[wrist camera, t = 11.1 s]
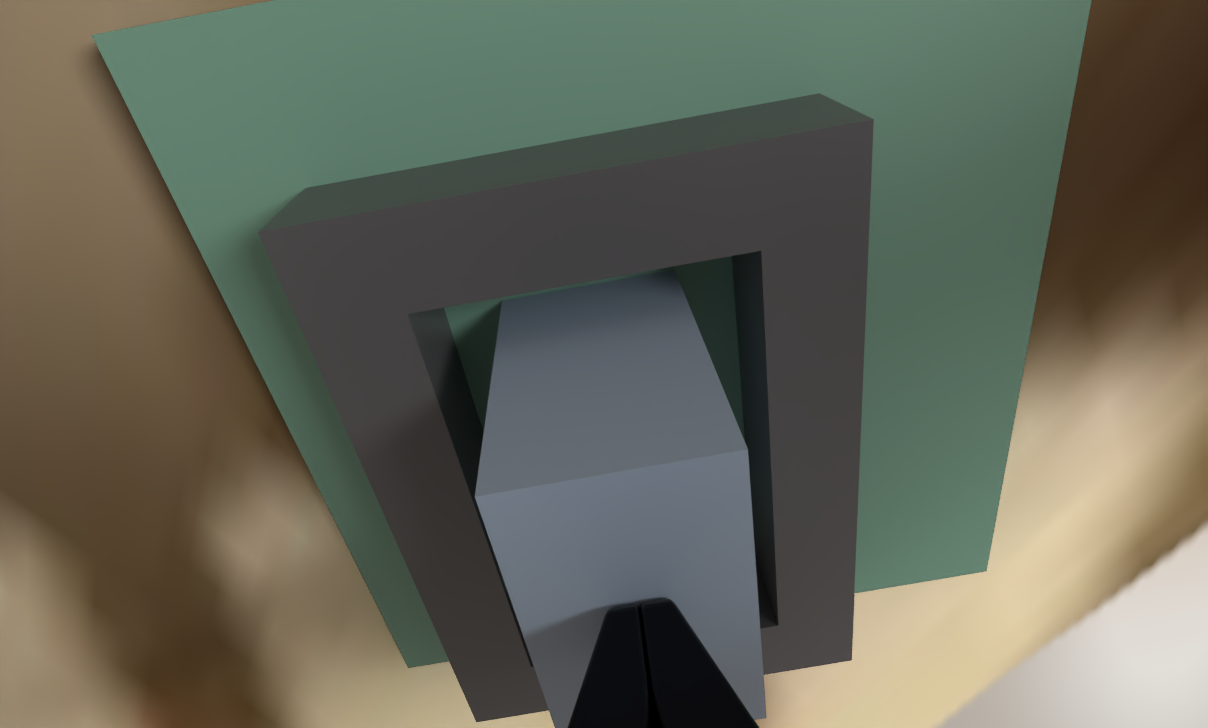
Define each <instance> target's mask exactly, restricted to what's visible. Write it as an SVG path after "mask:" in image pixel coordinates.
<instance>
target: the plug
mask: <svg viewBox="0 0 1208 728" xmlns="http://www.w3.org/2000/svg"><path fill="white" fill-rule="evenodd" d="M475 499H476V502H477V505H478V508H479V510H480V513H481V516H482V519H483V522H484V525H485V528H486V531H487V533H488V536H489V539H490V542H491V545H492V548H493V551H494V554H495V556H496V559H497V562H498V565H499V568H500V571H501V574H502V577H503V579H504V582H505V585H506V588H507V591H508V594H509V597H510V600H511V602H512V605H513V608H514V611H515V614H516V617H517V620H518V623H519V625H520V628H521V631H522V634H523V637H524V640H525V643H526V645H527V648H528V651H529V654H530V657H531V660H532V663H533V666H534V668H535V671H536V674H537V677H538V680H539V683H540V686H541V689H542V691H543V694H544V697H545V700H546V703H547V706H548V709H549V712H550V714H551V717H552V720H553V723H554V726H555V728H567V727H568V724H569V721H570V718H571V715H572V712H573V709H574V706H575V703H576V700H577V697H578V694H579V691H580V688H581V685H582V682H583V679H584V676H585V673H586V670H587V667H588V664H589V661H590V658H591V655H592V652H593V649H594V646H595V643H596V640H597V637H598V634H599V631H600V628H601V625H602V622H603V619H604V616H605V614H606V612H607V611H608V610H609V609H610V608H614V607H620V606H626V605H632V604H634V605H637V606H638V607H639V608H640V611H641V605H642V604H643V603H645V602H649V601H655V600H661V599H671V600H672V601H673V602H674V603H675V604H676V605H677V607H678V608H679V610H680V611H681V613H682V614H683V616H684V617H685V619H686V620H687V622H688V623H689V625H690V626H691V627H692V629H693V630H694V632H695V633H696V635H697V636H698V638H699V639H700V641H701V642H702V644H703V645H704V647H705V648H706V650H707V651H708V653H709V654H710V656H711V657H712V658H713V660H714V661H715V663H716V664H717V666H718V667H719V669H720V670H721V672H722V673H723V675H724V676H725V678H726V679H727V681H728V682H729V684H730V685H731V687H732V688H733V689H734V691H735V692H736V694H737V695H738V697H739V698H740V700H741V701H742V703H743V704H744V706H745V707H746V709H747V710H748V712H749V713H750V715H751V716H752V718H753V719H754V720H757V719H763V718H766V705H765V690H764V676H763V661H762V647H761V632H760V617H759V603H758V588H757V574H756V559H755V545H754V530H753V516H752V501H751V486H750V472H749V457H748V448H747V446H746V443H745V441H744V438H743V436H742V434H741V431H740V429H739V426H738V424H737V421H736V419H735V417H734V414H733V412H732V409H731V407H730V404H729V402H728V399H727V397H726V395H725V392H724V390H723V387H722V385H721V382H720V380H719V377H718V375H717V373H716V370H715V368H714V365H713V363H712V360H711V358H710V355H709V353H708V351H707V348H706V346H705V343H704V341H703V338H702V336H701V333H700V331H699V329H698V326H697V324H696V321H695V319H694V316H693V314H692V311H691V309H690V307H689V304H688V302H687V299H686V297H685V294H684V292H683V289H682V287H681V285H680V282H679V280H678V277H677V275H676V272H675V270H668V271H663V272H657V273H652V274H646V275H641V276H635V277H629V278H624V279H618V280H613V281H607V282H602V283H596V284H591V285H585V286H580V287H574V288H568V289H563V290H557V291H552V292H546V293H541V294H535V295H530V296H524V297H519V298H513V299H507V300H502V304H501V312H500V319H499V326H498V333H497V340H496V348H495V355H494V362H493V369H492V376H491V383H490V391H489V398H488V405H487V412H486V419H485V427H484V434H483V441H482V448H481V455H480V463H479V470H478V477H477V484H476V491H475Z"/></svg>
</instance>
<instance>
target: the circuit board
mask: <svg viewBox="0 0 1208 728" xmlns="http://www.w3.org/2000/svg"><path fill="white" fill-rule="evenodd" d="M1091 1H1092V0H273V1H268V2H262V3H257V4H252V5H247V6H241V7H236V8H231V9H226V10H220V11H215V12H210V13H205V14H199V15H194V16H189V17H184V18H179V19H173V20H168V21H163V22H158V23H152V24H147V25H142V26H137V27H131V28H126V29H121V30H116V31H110V32H105V33H100V34H95V35H92V37H93V39H94V41H95V43H96V45H97V47H98V49H99V51H100V53H101V55H102V57H103V59H104V61H105V63H106V65H107V67H108V69H109V71H110V73H111V75H112V77H113V79H114V81H115V83H116V85H117V87H118V89H119V91H120V93H121V95H122V97H123V99H124V101H125V103H126V105H127V107H128V109H129V111H130V113H131V115H132V117H133V119H134V121H135V123H136V125H137V127H138V129H139V131H140V133H141V135H142V137H143V139H144V141H145V143H146V145H147V147H148V149H149V151H150V153H151V155H152V157H153V159H154V161H155V163H156V165H157V167H158V169H159V171H160V173H161V175H162V177H163V179H164V181H165V183H166V185H167V187H168V189H169V191H170V193H171V195H172V197H173V199H174V201H175V203H176V205H177V207H178V209H179V211H180V213H181V215H182V217H183V219H184V221H185V223H186V225H187V227H188V229H189V231H190V233H191V235H192V237H193V239H194V241H195V243H196V245H197V247H198V249H199V251H200V253H201V255H202V257H203V259H204V261H205V263H206V265H207V267H208V269H209V271H210V273H211V275H212V277H213V279H214V281H215V283H216V285H217V287H218V289H219V291H220V293H221V295H222V297H223V299H224V301H225V303H226V305H227V307H228V309H229V311H230V313H231V315H232V317H233V319H234V321H235V323H236V325H237V327H238V329H239V331H240V333H241V335H242V337H243V339H244V341H245V343H246V345H247V347H248V349H249V351H250V353H251V355H252V357H253V359H254V361H255V363H256V365H257V367H258V369H259V371H260V373H261V375H262V377H263V379H264V381H265V383H266V385H267V387H268V389H269V391H270V393H271V395H272V397H273V399H274V401H275V403H276V405H277V407H278V409H279V411H280V413H281V415H282V417H283V419H284V421H285V423H286V425H287V427H288V429H289V431H290V433H291V435H292V437H293V439H294V441H295V443H296V445H297V447H298V449H299V451H300V453H301V455H302V457H303V459H304V461H305V463H306V465H307V467H308V469H309V471H310V473H311V475H312V477H313V479H314V481H315V483H316V485H317V487H318V489H319V491H320V493H321V495H322V497H323V499H324V501H325V503H326V505H327V507H328V509H329V511H330V513H331V515H332V517H333V519H334V521H335V523H336V525H337V527H338V529H339V531H340V533H341V535H342V537H343V539H344V541H345V543H346V545H347V547H348V549H349V551H350V553H351V555H352V557H353V559H354V561H355V563H356V565H357V567H358V569H359V571H360V573H361V575H362V577H363V579H364V581H365V583H366V585H367V587H368V589H369V591H370V593H371V595H372V597H373V599H374V601H375V602H376V604H377V606H378V608H379V610H380V612H381V614H382V616H383V618H384V620H385V622H386V624H387V626H388V628H389V630H390V632H391V634H392V636H393V638H394V640H395V642H396V644H397V646H398V648H399V650H400V652H401V654H402V656H403V658H404V660H405V662H406V664H407V666H408V668H411V667H417V666H423V665H429V664H435V663H441V662H447V661H449V659H448V657H447V655H446V653H445V650H444V648H443V646H442V644H441V641H440V639H439V637H438V635H437V632H436V630H435V628H434V626H433V623H432V621H431V619H430V617H429V614H428V612H427V610H426V608H425V605H424V603H423V601H422V599H421V597H420V594H419V592H418V590H417V588H416V585H415V583H414V581H413V579H412V576H411V574H410V572H409V570H408V567H407V565H406V563H405V561H404V558H403V556H402V554H401V552H400V549H399V547H398V545H397V543H396V541H395V538H394V536H393V534H392V532H391V529H390V527H389V525H388V523H387V520H386V518H385V516H384V514H383V511H382V509H381V507H380V505H379V502H378V500H377V498H376V496H375V493H374V491H373V489H372V487H371V485H370V482H369V480H368V478H367V476H366V473H365V471H364V469H363V467H362V464H361V462H360V460H359V458H358V455H357V453H356V451H355V449H354V446H353V444H352V442H351V440H350V437H349V435H348V433H347V431H346V429H345V426H344V424H343V422H342V420H341V417H340V415H339V413H338V411H337V408H336V406H335V404H334V402H333V399H332V397H331V395H330V393H329V390H328V388H327V386H326V384H325V381H324V379H323V377H322V375H321V373H320V370H319V368H318V366H317V364H316V361H315V359H314V357H313V355H312V352H311V350H310V348H309V346H308V343H307V341H306V339H305V337H304V334H303V332H302V330H301V328H300V326H299V323H298V321H297V319H296V317H295V314H294V312H293V310H292V308H291V305H290V303H289V301H288V299H287V296H286V294H285V292H284V290H283V287H282V285H281V283H280V281H279V278H278V276H277V274H276V272H275V270H274V267H273V265H272V263H271V261H270V258H269V256H268V254H267V252H266V249H265V247H264V245H263V243H262V240H261V238H260V236H259V234H258V231H260V230H261V229H262V228H263V227H264V226H265V225H266V224H267V223H268V222H269V221H270V220H271V219H273V218H274V217H275V216H276V215H277V214H278V213H279V212H280V211H281V210H282V209H283V208H284V207H285V206H287V205H288V204H289V203H290V202H291V201H292V200H293V199H294V198H295V197H296V196H297V195H298V194H300V193H301V192H302V191H303V190H304V189H305V188H308V187H314V186H319V185H325V184H330V183H335V182H341V181H346V180H352V179H357V178H363V177H368V176H373V175H379V174H384V173H390V172H395V171H401V170H406V169H411V168H417V167H422V166H428V165H433V164H438V163H444V162H449V161H455V160H460V159H466V158H471V157H476V156H482V155H487V154H493V153H498V152H504V151H509V150H514V149H520V148H525V147H531V146H536V145H542V144H547V143H552V142H558V141H563V140H569V139H574V138H579V137H585V136H590V135H596V134H601V133H607V132H612V131H617V130H623V129H628V128H634V127H639V126H645V125H650V124H655V123H661V122H666V121H672V120H677V119H682V118H688V117H693V116H699V115H704V114H710V113H715V112H720V111H726V110H731V109H737V108H742V107H748V106H753V105H758V104H764V103H769V102H775V101H780V100H786V99H791V98H796V97H802V96H807V95H813V94H818V93H820V94H822V95H824V96H826V97H828V98H831V99H833V100H835V101H837V102H839V103H841V104H843V105H845V106H847V107H849V108H851V109H853V110H856V111H858V112H860V113H862V114H864V115H866V116H868V117H870V118H872V119H874V126H873V150H872V174H871V199H870V223H869V248H868V272H867V296H866V321H865V345H864V370H863V394H862V418H861V443H860V467H859V492H858V516H857V540H856V565H855V589H854V593H859V592H865V591H871V590H877V589H883V588H889V587H895V586H901V585H907V584H913V583H919V582H925V581H931V580H937V579H943V578H949V577H954V576H960V575H966V574H972V573H978V572H984V571H986V570H987V565H988V560H989V554H990V549H991V543H992V538H993V532H994V527H995V522H996V516H997V511H998V505H999V500H1000V494H1001V489H1002V484H1003V478H1004V473H1005V467H1006V462H1007V456H1008V451H1009V446H1010V440H1011V435H1012V429H1013V424H1014V418H1015V413H1016V408H1017V402H1018V397H1019V391H1020V386H1021V380H1022V375H1023V370H1024V364H1025V359H1026V353H1027V348H1028V342H1029V337H1030V332H1031V326H1032V321H1033V315H1034V310H1035V304H1036V299H1037V294H1038V288H1039V283H1040V277H1041V272H1042V266H1043V261H1044V256H1045V250H1046V245H1047V239H1048V234H1049V228H1050V223H1051V218H1052V212H1053V207H1054V201H1055V196H1056V190H1057V185H1058V180H1059V174H1060V169H1061V163H1062V158H1063V152H1064V147H1065V142H1066V136H1067V131H1068V125H1069V120H1070V114H1071V109H1072V104H1073V98H1074V93H1075V87H1076V82H1077V77H1078V71H1079V66H1080V60H1081V55H1082V49H1083V44H1084V39H1085V33H1086V28H1087V22H1088V17H1089V11H1090V6H1091ZM668 270H675V272H676V275H677V277H678V280H679V282H680V285H681V287H682V289H683V292H684V294H685V297H686V299H687V302H688V304H689V307H690V309H691V311H692V314H693V316H694V319H695V321H696V324H697V326H698V329H699V331H700V333H701V336H702V338H703V341H704V343H705V346H706V348H707V351H708V353H709V355H710V358H711V360H712V363H713V365H714V368H715V370H716V373H717V375H718V377H719V380H720V382H721V385H722V387H723V390H724V392H725V395H726V397H727V399H728V402H729V404H730V407H731V409H732V412H733V414H734V417H735V419H736V421H737V424H738V426H739V429H740V431H741V434H742V436H743V438H744V441H745V437H744V422H743V408H742V394H741V379H740V365H739V351H738V336H737V322H736V308H735V293H734V279H733V265H732V256H729V257H723V258H718V259H712V260H707V261H701V262H695V263H690V264H684V265H679V266H673V267H668V268H662V269H656V270H651V271H645V272H640V273H634V274H629V275H623V276H617V277H612V278H606V279H601V280H595V281H590V282H584V283H578V284H573V285H567V286H562V287H556V288H551V289H545V290H539V291H534V292H528V293H523V294H517V295H512V296H506V297H500V298H495V299H489V300H484V301H478V302H473V303H467V304H461V305H456V306H450V307H445V308H444V309H445V312H446V316H447V319H448V322H449V325H450V328H451V331H452V334H453V338H454V341H455V344H456V347H457V350H458V353H459V357H460V360H461V363H462V366H463V369H464V372H465V375H466V379H467V382H468V385H469V388H470V391H471V394H472V398H473V401H474V404H475V407H476V410H477V413H478V416H479V420H480V423H481V426H482V429H483V432H484V427H485V419H486V412H487V405H488V398H489V391H490V383H491V376H492V369H493V362H494V355H495V348H496V340H497V333H498V326H499V319H500V312H501V304H502V300H507V299H513V298H519V297H524V296H530V295H535V294H541V293H546V292H552V291H557V290H563V289H568V288H574V287H580V286H585V285H591V284H596V283H602V282H607V281H613V280H618V279H624V278H629V277H635V276H641V275H646V274H652V273H657V272H663V271H668Z"/></svg>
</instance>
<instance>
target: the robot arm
mask: <svg viewBox="0 0 1208 728" xmlns="http://www.w3.org/2000/svg"><path fill="white" fill-rule="evenodd" d="M567 728H759V726H758V725H757V723H756V722H755V720H754V719H753V718H752V716H751V715H750V713H749V712H748V710H747V709H746V707H745V706H744V704H743V703H742V701H741V700H740V698H739V697H738V695H737V694H736V692H735V691H734V689H733V688H732V687H731V685H730V684H729V682H728V681H727V679H726V678H725V676H724V675H723V673H722V672H721V670H720V669H719V667H718V666H717V664H716V663H715V661H714V660H713V658H712V657H711V656H710V654H709V653H708V651H707V650H706V648H705V647H704V645H703V644H702V642H701V641H700V639H699V638H698V636H697V635H696V633H695V632H694V630H693V629H692V627H691V626H690V625H689V623H688V622H687V620H686V619H685V617H684V616H683V614H682V613H681V611H680V610H679V608H678V607H677V605H676V604H675V603H674V602H673V601H672V600H671V599H661V600H655V601H649V602H645V603H643V604H642V605H641V611H640V608H639V607H638V606H637V605H634V604H632V605H626V606H620V607H614V608H610V609H609V610H608V611H607V612H606V614H605V616H604V619H603V622H602V625H601V628H600V631H599V634H598V637H597V640H596V643H595V646H594V649H593V652H592V655H591V658H590V661H589V664H588V667H587V670H586V673H585V676H584V679H583V682H582V685H581V688H580V691H579V694H578V697H577V700H576V703H575V706H574V709H573V712H572V715H571V718H570V721H569V724H568V727H567Z"/></svg>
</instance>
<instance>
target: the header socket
mask: <svg viewBox="0 0 1208 728" xmlns="http://www.w3.org/2000/svg"><path fill="white" fill-rule="evenodd" d="M873 126H874V119H872V118H870V117H868V116H866V115H864V114H862V113H860V112H858V111H856V110H853V109H851V108H849V107H847V106H845V105H843V104H841V103H839V102H837V101H835V100H833V99H831V98H828V97H826V96H824V95H822V94H820V93H818V94H813V95H807V96H802V97H796V98H791V99H786V100H780V101H775V102H769V103H764V104H758V105H753V106H748V107H742V108H737V109H731V110H726V111H720V112H715V113H710V114H704V115H699V116H693V117H688V118H682V119H677V120H672V121H666V122H661V123H655V124H650V125H645V126H639V127H634V128H628V129H623V130H617V131H612V132H607V133H601V134H596V135H590V136H585V137H579V138H574V139H569V140H563V141H558V142H552V143H547V144H542V145H536V146H531V147H525V148H520V149H514V150H509V151H504V152H498V153H493V154H487V155H482V156H476V157H471V158H466V159H460V160H455V161H449V162H444V163H438V164H433V165H428V166H422V167H417V168H411V169H406V170H401V171H395V172H390V173H384V174H379V175H373V176H368V177H363V178H357V179H352V180H346V181H341V182H335V183H330V184H325V185H319V186H314V187H308V188H305V189H304V190H303V191H302V192H301V193H300V194H298V195H297V196H296V197H295V198H294V199H293V200H292V201H291V202H290V203H289V204H288V205H287V206H285V207H284V208H283V209H282V210H281V211H280V212H279V213H278V214H277V215H276V216H275V217H274V218H273V219H271V220H270V221H269V222H268V223H267V224H266V225H265V226H264V227H263V228H262V229H261V230H260V231H258V234H259V236H260V238H261V240H262V243H263V245H264V247H265V249H266V252H267V254H268V256H269V258H270V261H271V263H272V265H273V267H274V270H275V272H276V274H277V276H278V278H279V281H280V283H281V285H282V287H283V290H284V292H285V294H286V296H287V299H288V301H289V303H290V305H291V308H292V310H293V312H294V314H295V317H296V319H297V321H298V323H299V326H300V328H301V330H302V332H303V334H304V337H305V339H306V341H307V343H308V346H309V348H310V350H311V352H312V355H313V357H314V359H315V361H316V364H317V366H318V368H319V370H320V373H321V375H322V377H323V379H324V381H325V384H326V386H327V388H328V390H329V393H330V395H331V397H332V399H333V402H334V404H335V406H336V408H337V411H338V413H339V415H340V417H341V420H342V422H343V424H344V426H345V429H346V431H347V433H348V435H349V437H350V440H351V442H352V444H353V446H354V449H355V451H356V453H357V455H358V458H359V460H360V462H361V464H362V467H363V469H364V471H365V473H366V476H367V478H368V480H369V482H370V485H371V487H372V489H373V491H374V493H375V496H376V498H377V500H378V502H379V505H380V507H381V509H382V511H383V514H384V516H385V518H386V520H387V523H388V525H389V527H390V529H391V532H392V534H393V536H394V538H395V541H396V543H397V545H398V547H399V549H400V552H401V554H402V556H403V558H404V561H405V563H406V565H407V567H408V570H409V572H410V574H411V576H412V579H413V581H414V583H415V585H416V588H417V590H418V592H419V594H420V597H421V599H422V601H423V603H424V605H425V608H426V610H427V612H428V614H429V617H430V619H431V621H432V623H433V626H434V628H435V630H436V632H437V635H438V637H439V639H440V641H441V644H442V646H443V648H444V650H445V653H446V655H447V657H448V659H449V661H450V664H451V666H452V668H453V670H454V673H455V675H456V677H457V679H458V682H459V684H460V686H461V688H462V691H463V693H464V695H465V697H466V700H467V702H468V704H469V706H470V708H471V711H472V713H473V715H474V717H475V720H476V722H481V721H487V720H493V719H499V718H505V717H511V716H517V715H523V714H529V713H535V712H541V711H547V710H549V709H548V706H547V703H546V700H545V697H544V694H543V691H542V689H541V686H540V683H539V680H538V677H537V674H536V671H535V668H534V666H533V663H532V660H531V657H530V654H529V651H528V648H527V645H526V643H525V640H524V637H523V634H522V631H521V628H520V625H519V623H518V620H517V617H516V614H515V611H514V608H513V605H512V602H511V600H510V597H509V594H508V591H507V588H506V585H505V582H504V579H503V577H502V574H501V571H500V568H499V565H498V562H497V559H496V556H495V554H494V551H493V548H492V545H491V542H490V539H489V536H488V533H487V531H486V528H485V525H484V522H483V519H482V516H481V513H480V510H479V508H478V505H477V502H476V499H475V491H476V484H477V477H478V470H479V463H480V455H481V448H482V441H483V434H484V432H483V429H482V426H481V423H480V420H479V416H478V413H477V410H476V407H475V404H474V401H473V398H472V394H471V391H470V388H469V385H468V382H467V379H466V375H465V372H464V369H463V366H462V363H461V360H460V357H459V353H458V350H457V347H456V344H455V341H454V338H453V334H452V331H451V328H450V325H449V322H448V319H447V316H446V312H445V309H444V308H445V307H450V306H456V305H461V304H467V303H473V302H478V301H484V300H489V299H495V298H500V297H506V296H512V295H517V294H523V293H528V292H534V291H539V290H545V289H551V288H556V287H562V286H567V285H573V284H578V283H584V282H590V281H595V280H601V279H606V278H612V277H617V276H623V275H629V274H634V273H640V272H645V271H651V270H656V269H662V268H668V267H673V266H679V265H684V264H690V263H695V262H701V261H707V260H712V259H718V258H723V257H729V256H732V265H733V279H734V293H735V308H736V322H737V336H738V351H739V365H740V379H741V394H742V408H743V422H744V437H745V443H746V446H747V448H748V457H749V472H750V486H751V501H752V516H753V530H754V545H755V559H756V574H757V588H758V603H759V617H760V632H761V647H762V661H763V675H765V674H771V673H777V672H783V671H789V670H795V669H801V668H807V667H813V666H819V665H825V664H832V663H838V662H844V661H850V660H852V638H853V614H854V589H855V565H856V540H857V516H858V492H859V467H860V443H861V418H862V394H863V370H864V345H865V321H866V296H867V272H868V248H869V223H870V199H871V174H872V150H873Z"/></svg>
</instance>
